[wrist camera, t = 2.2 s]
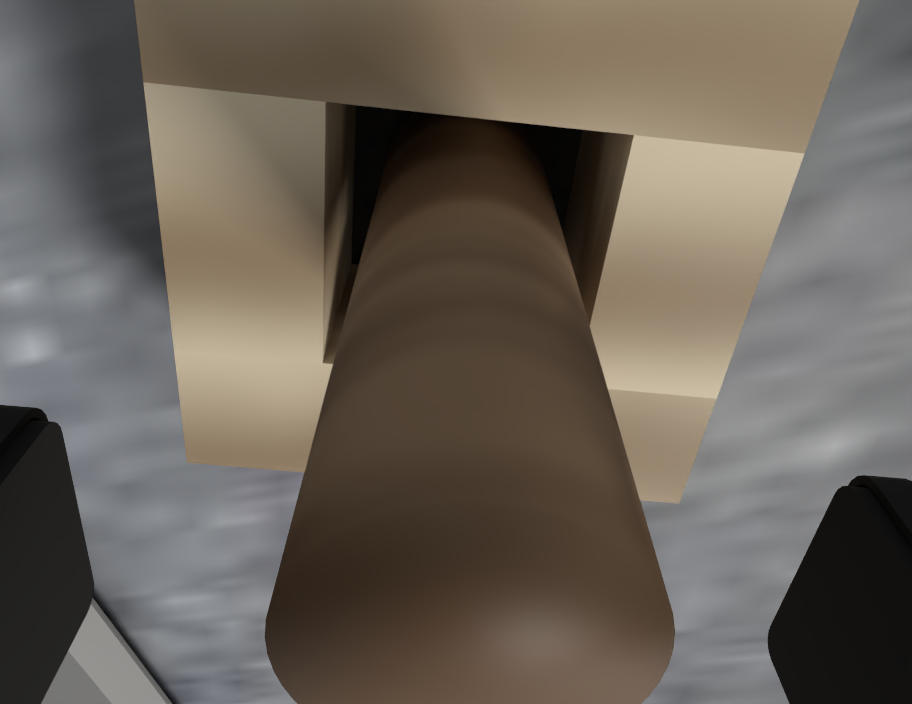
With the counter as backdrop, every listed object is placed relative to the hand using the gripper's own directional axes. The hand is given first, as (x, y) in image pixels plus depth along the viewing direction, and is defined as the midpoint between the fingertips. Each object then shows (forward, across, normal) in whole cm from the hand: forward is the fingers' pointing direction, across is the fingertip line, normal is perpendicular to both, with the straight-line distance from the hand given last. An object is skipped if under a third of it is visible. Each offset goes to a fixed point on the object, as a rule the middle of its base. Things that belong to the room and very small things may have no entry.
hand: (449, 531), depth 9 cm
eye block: (+12, 0, -1) cm, 12 cm away
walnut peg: (+12, 0, -1) cm, 12 cm away
